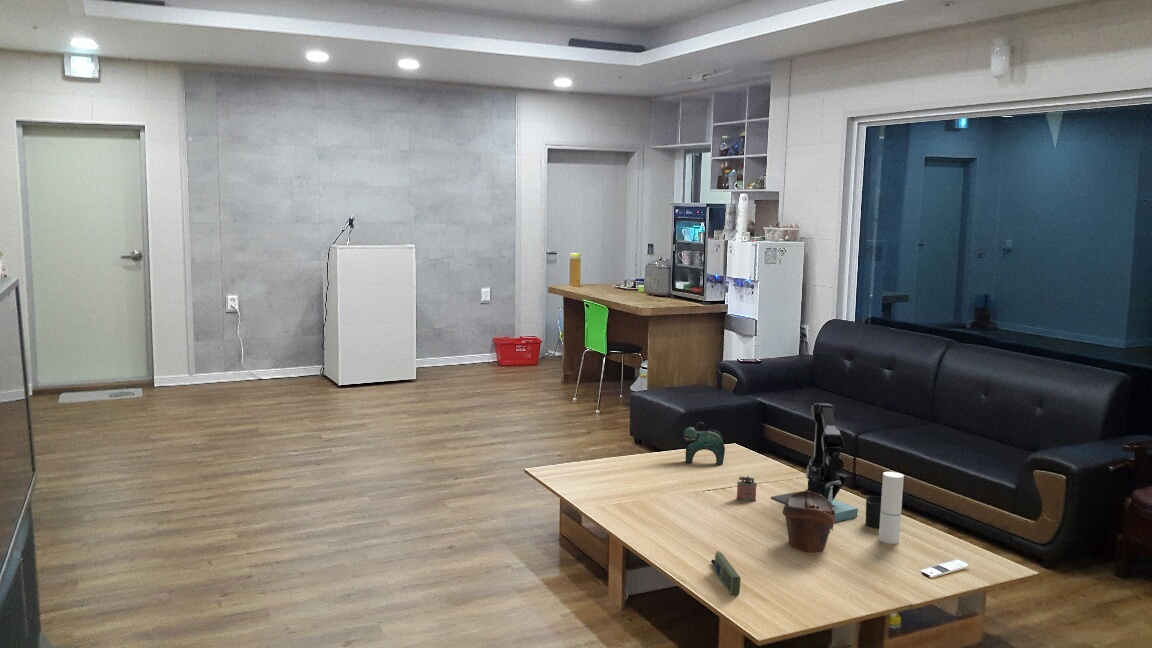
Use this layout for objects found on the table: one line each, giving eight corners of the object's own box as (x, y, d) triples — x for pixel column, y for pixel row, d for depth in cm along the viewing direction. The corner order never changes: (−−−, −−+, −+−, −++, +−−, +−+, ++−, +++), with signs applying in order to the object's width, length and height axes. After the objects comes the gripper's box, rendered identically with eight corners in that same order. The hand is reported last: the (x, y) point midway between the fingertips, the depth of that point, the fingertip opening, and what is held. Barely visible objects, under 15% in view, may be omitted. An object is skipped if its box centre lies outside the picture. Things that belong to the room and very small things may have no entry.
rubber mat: (795, 493, 373) (795, 491, 373) (819, 503, 361) (819, 501, 361) (770, 498, 366) (771, 496, 366) (794, 508, 354) (795, 506, 354)
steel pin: (827, 507, 350) (829, 483, 349) (833, 509, 348) (834, 485, 346) (822, 508, 349) (823, 484, 348) (827, 510, 346) (829, 486, 345)
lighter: (755, 499, 365) (756, 476, 363) (756, 501, 361) (757, 478, 360) (736, 498, 365) (737, 475, 364) (736, 500, 362) (737, 477, 361)
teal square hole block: (826, 504, 359) (827, 496, 359) (857, 516, 346) (857, 508, 345) (798, 510, 351) (798, 502, 351) (828, 523, 338) (828, 514, 337)
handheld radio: (730, 597, 272) (707, 564, 296) (740, 597, 272) (716, 564, 297) (731, 576, 271) (709, 545, 295) (742, 576, 271) (718, 545, 296)
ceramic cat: (681, 463, 414) (683, 422, 412) (682, 459, 421) (684, 419, 418) (724, 466, 411) (726, 424, 409) (724, 462, 418) (726, 421, 415)
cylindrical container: (898, 538, 324) (903, 473, 321) (899, 544, 317) (904, 478, 314) (878, 535, 326) (883, 470, 323) (878, 542, 319) (883, 476, 316)
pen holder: (891, 523, 339) (893, 498, 338) (889, 531, 331) (890, 505, 330) (866, 519, 343) (867, 494, 342) (863, 526, 335) (864, 501, 334)
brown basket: (807, 559, 301) (811, 509, 299) (769, 540, 319) (772, 492, 317) (846, 552, 310) (849, 503, 308) (807, 533, 327) (810, 487, 325)
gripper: (832, 455, 357) (829, 492, 360) (798, 461, 348) (796, 499, 350) (853, 462, 348) (850, 500, 350) (819, 469, 339) (817, 507, 341)
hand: (828, 501), depth 348 cm, fingers closed on steel pin, 3 cm apart
